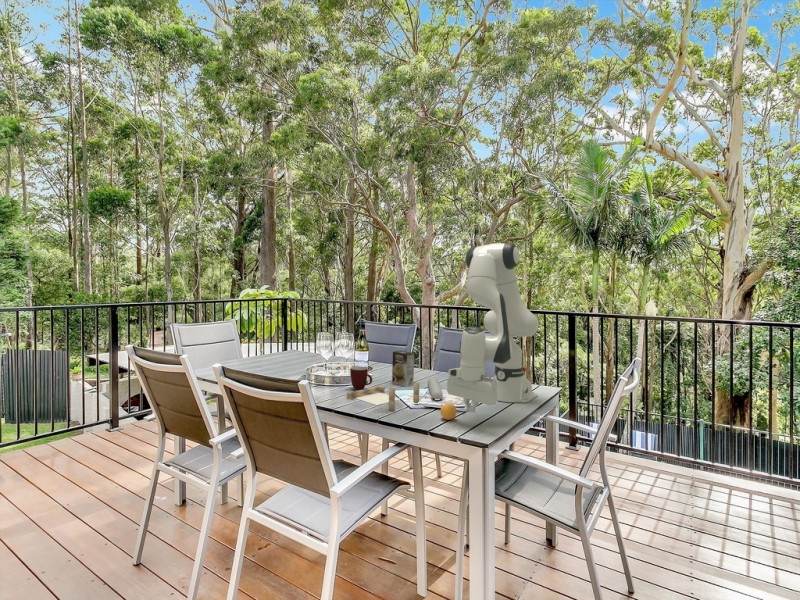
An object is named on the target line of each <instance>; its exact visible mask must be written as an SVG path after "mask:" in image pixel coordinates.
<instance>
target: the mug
mask: <svg viewBox="0 0 800 600" xmlns="http://www.w3.org/2000/svg"><path fill="white" fill-rule="evenodd" d="M368 370H369V369H368V367H367V366H352V367H350V370H349V371H350V372H349V373H350V381H351V385H352V387H353V389H354V391H359V390H364V389H365V387H366V386H370V385H371V384H372V383H373V377H372V375H371V374H369V371H368ZM368 378H369V382H368V383H367V380H368Z"/></svg>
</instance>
